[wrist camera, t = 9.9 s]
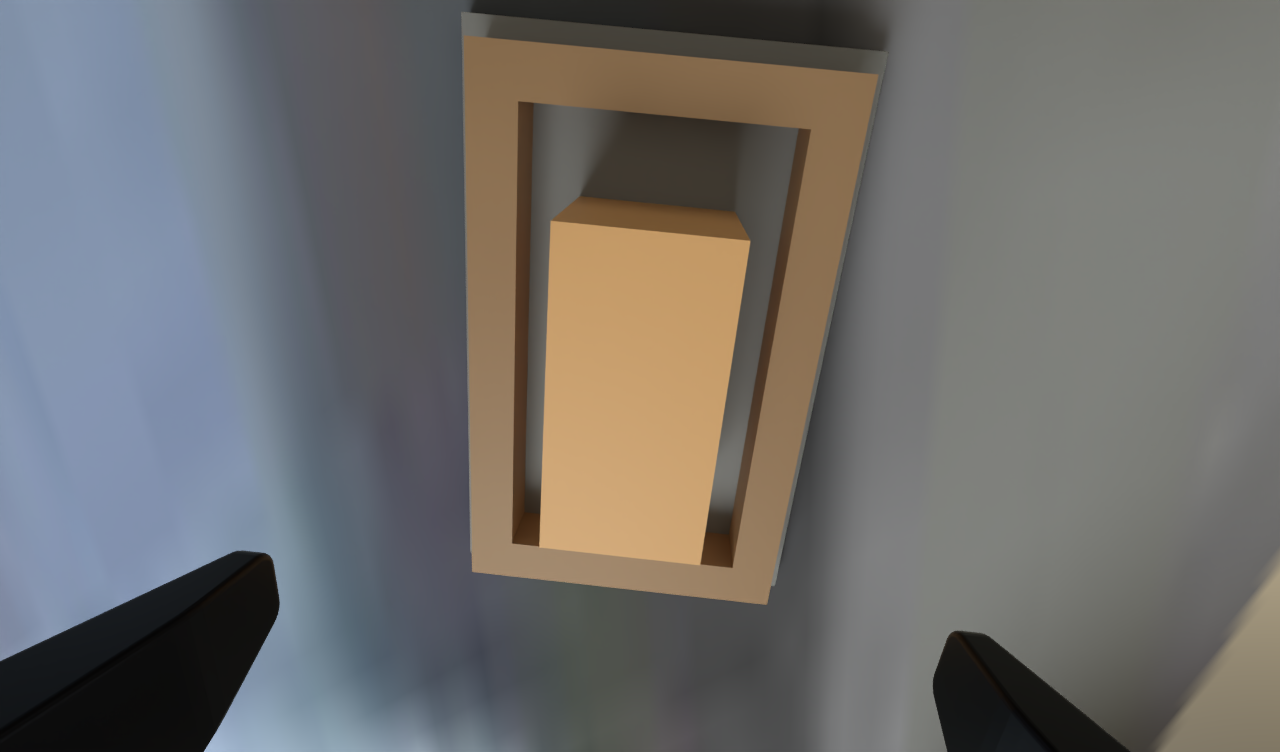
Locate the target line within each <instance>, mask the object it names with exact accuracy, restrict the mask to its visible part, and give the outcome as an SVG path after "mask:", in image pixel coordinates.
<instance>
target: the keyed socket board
mask: <svg viewBox="0 0 1280 752" xmlns="http://www.w3.org/2000/svg"><path fill="white" fill-rule="evenodd" d="M461 18H462V78H463V137H464V196H465V255H466V315H467V374H468V433H469V492H470V552H472V572H479V573H488V574H497V575H505V576H514V577H523V578H532V579H541V580H550V581H559V582H568V583H577V584H586V585H595V586H604V587H613V588H622V589H631V590H640V591H649V592H658V593H666V594H675V595H684V596H693V597H702V598H711V599H720V600H729V601H738V602H747V603H756V604H765V605H767V602H768V597H769V592H770V587H771V586H775V582H776V577H777V573H778V568H779V563H780V559H781V554H782V549H783V545H784V540H785V535H786V531H787V526H788V521H789V516H790V512H791V507H792V502H793V498H794V493H795V488H796V484H797V479H798V474H799V470H800V465H801V460H802V456H803V451H804V446H805V442H806V437H807V432H808V428H809V423H810V418H811V413H812V409H813V404H814V399H815V395H816V390H817V385H818V381H819V376H820V371H821V367H822V362H823V357H824V353H825V348H826V343H827V339H828V334H829V329H830V325H831V320H832V315H833V310H834V306H835V301H836V296H837V292H838V287H839V282H840V278H841V273H842V268H843V264H844V259H845V254H846V250H847V245H848V240H849V236H850V231H851V226H852V222H853V217H854V212H855V208H856V203H857V198H858V193H859V189H860V184H861V179H862V175H863V170H864V165H865V161H866V156H867V151H868V147H869V142H870V137H871V133H872V128H873V123H874V119H875V114H876V109H877V105H878V100H879V95H880V90H881V86H882V81H883V76H884V72H885V67H886V62H887V58H888V53H889V52H885V51H874V50H864V49H853V48H842V47H832V46H821V45H810V44H800V43H789V42H778V41H768V40H757V39H746V38H735V37H725V36H714V35H703V34H693V33H682V32H671V31H661V30H650V29H639V28H628V27H618V26H607V25H596V24H586V23H575V22H564V21H554V20H543V19H532V18H522V17H511V16H500V15H489V14H479V13H468V12H461ZM579 196H583V197H593V198H603V199H613V200H623V201H633V202H643V203H653V204H663V205H673V206H683V207H693V208H703V209H713V210H723V211H733V212H735V213H736V215H737V216H738V218H739V220H740V222H741V224H742V226H743V228H744V230H745V231H746V233H747V235H748V237H749V239H750V248H749V254H748V261H747V267H746V273H745V280H744V286H743V293H742V299H741V306H740V312H739V319H738V325H737V331H736V338H735V344H734V351H733V357H732V364H731V370H730V376H729V383H728V389H727V396H726V402H725V409H724V415H723V422H722V428H721V434H720V441H719V447H718V454H717V460H716V467H715V473H714V479H713V486H712V492H711V499H710V505H709V512H708V518H707V525H706V531H705V537H704V544H703V550H702V557H701V563H700V565H692V564H683V563H674V562H665V561H656V560H647V559H638V558H629V557H620V556H611V555H602V554H593V553H584V552H575V551H566V550H557V549H548V548H539V542H540V513H541V484H542V455H543V426H544V397H545V368H546V339H547V310H548V282H549V253H550V224H551V220H552V219H553V218H554V217H556V216H557V215H558V214H559V213H560V212H562V211H563V210H564V209H565V208H566V207H568V206H569V205H570V204H571V203H572V202H573V201H575V200H576V199H577V198H578V197H579Z"/></svg>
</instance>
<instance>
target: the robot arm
mask: <svg viewBox="0 0 1280 752" xmlns="http://www.w3.org/2000/svg"><path fill="white" fill-rule="evenodd" d="M279 604H280V602H279V594H278V588H277V582H276V576H275V570H274V564H273V560H272V558H271V557H270V556H269V555H268V554H266V553H260V552H251V551H235V552H232V553H230V554H228V555H226V556H224V557H221V558H219V559H217V560H215V561H213V562H211V563H209V564H206V565H204V566H202V567H200V568H198V569H196V570H194V571H192V572H189V573H187V574H185V575H183V576H181V577H179V578H177V579H175V580H172V581H170V582H168V583H166V584H164V585H162V586H160V587H158V588H155V589H153V590H151V591H149V592H147V593H145V594H143V595H140V596H138V597H136V598H134V599H132V600H130V601H128V602H126V603H123V604H121V605H119V606H117V607H115V608H113V609H111V610H108V611H106V612H104V613H102V614H100V615H98V616H96V617H94V618H91V619H89V620H87V621H85V622H83V623H81V624H79V625H77V626H74V627H72V628H70V629H68V630H66V631H64V632H62V633H59V634H57V635H55V636H53V637H51V638H49V639H47V640H45V641H42V642H40V643H38V644H36V645H34V646H32V647H30V648H27V649H25V650H23V651H21V652H19V653H17V654H15V655H13V656H10V657H8V658H6V659H4V660H2V661H0V752H204V750H205V749H206V747H207V745H208V744H209V742H210V741H211V739H212V737H213V736H214V734H215V733H216V731H217V729H218V727H219V726H220V724H221V722H222V720H223V719H224V717H225V715H226V713H227V711H228V710H229V708H230V706H231V704H232V702H233V700H234V698H235V696H236V694H237V693H238V691H239V689H240V687H241V685H242V683H243V681H244V679H245V677H246V675H247V674H248V672H249V670H250V668H251V666H252V664H253V662H254V660H255V658H256V657H257V655H258V653H259V651H260V649H261V647H262V645H263V643H264V641H265V639H266V638H267V636H268V634H269V632H270V630H271V628H272V626H273V624H274V622H275V620H276V618H277V615H278V611H279ZM933 693H934V698H935V703H936V707H937V711H938V715H939V719H940V723H941V727H942V731H943V736H944V740H945V744H946V748H947V752H1130V751H1129V750H1128V749H1127V748H1126V747H1124V746H1123V745H1122V744H1121V743H1119V742H1118V741H1117V740H1116V739H1115V738H1113V737H1112V736H1111V735H1110V734H1108V733H1107V732H1106V731H1105V730H1103V729H1102V728H1101V727H1100V726H1099V725H1097V724H1096V723H1095V722H1094V721H1092V720H1091V719H1090V718H1089V717H1087V716H1086V715H1085V714H1084V713H1083V712H1081V711H1080V710H1079V709H1078V708H1076V707H1075V706H1074V705H1073V704H1072V703H1070V702H1069V701H1068V700H1067V699H1065V698H1064V697H1063V696H1062V695H1060V694H1059V693H1058V692H1057V691H1056V690H1054V689H1053V688H1052V687H1051V686H1049V685H1048V684H1047V683H1046V682H1045V681H1043V680H1042V679H1041V678H1040V677H1038V676H1037V675H1036V674H1035V673H1033V672H1032V671H1031V670H1030V669H1029V668H1027V667H1026V666H1025V665H1024V664H1022V663H1021V662H1020V661H1019V660H1018V659H1016V658H1015V657H1014V656H1013V655H1011V654H1010V653H1009V652H1008V651H1006V650H1005V649H1004V648H1003V647H1002V646H1000V645H999V644H998V643H997V642H995V641H994V640H993V639H992V638H990V637H989V636H987V635H985V634H982V633H975V632H966V631H954V632H952V633H951V634H950V635H949V636H948V638H947V641H946V643H945V646H944V649H943V652H942V654H941V657H940V660H939V663H938V666H937V668H936V671H935V674H934V678H933Z"/></svg>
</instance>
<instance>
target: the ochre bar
mask: <svg viewBox="0 0 1280 752" xmlns="http://www.w3.org/2000/svg"><path fill="white" fill-rule="evenodd" d="M749 248H750V239H749V237H748V235H747V233H746V231H745V230H744V228H743V226H742V224H741V222H740V220H739V218H738V216H737V215H736V213H735V212H733V211H723V210H713V209H703V208H693V207H683V206H673V205H663V204H653V203H643V202H633V201H623V200H613V199H603V198H593V197H583V196H579V197H578V198H577V199H576V200H575V201H573V202H572V203H571V204H570V205H569V206H568V207H566V208H565V209H564V210H563V211H562V212H560V213H559V214H558V215H557V216H556V217H554V218H553V219H552V220H551V224H550V253H549V282H548V310H547V339H546V368H545V397H544V426H543V455H542V484H541V513H540V542H539V548H548V549H557V550H566V551H575V552H584V553H593V554H602V555H611V556H620V557H629V558H638V559H647V560H656V561H665V562H674V563H683V564H692V565H700V563H701V557H702V550H703V544H704V537H705V531H706V525H707V518H708V512H709V505H710V499H711V492H712V486H713V479H714V473H715V467H716V460H717V454H718V447H719V441H720V434H721V428H722V422H723V415H724V409H725V402H726V396H727V389H728V383H729V376H730V370H731V364H732V357H733V351H734V344H735V338H736V331H737V325H738V319H739V312H740V306H741V299H742V293H743V286H744V280H745V273H746V267H747V261H748V254H749Z"/></svg>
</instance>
